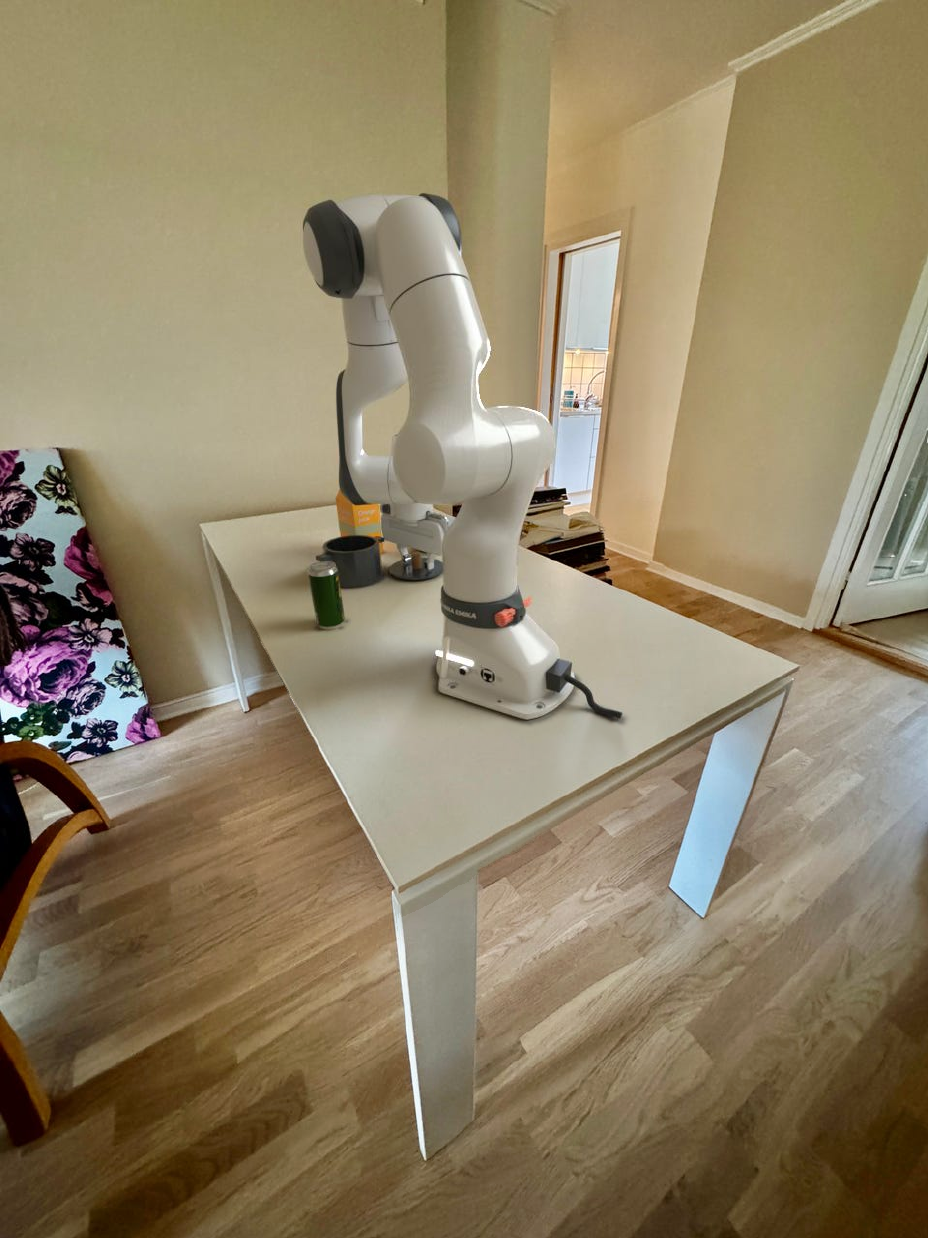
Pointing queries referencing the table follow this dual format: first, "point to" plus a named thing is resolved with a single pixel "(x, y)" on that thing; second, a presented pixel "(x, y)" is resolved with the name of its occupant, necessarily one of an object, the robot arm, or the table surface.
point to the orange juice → (358, 518)
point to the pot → (355, 559)
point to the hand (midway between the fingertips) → (417, 564)
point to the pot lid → (415, 568)
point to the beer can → (326, 595)
